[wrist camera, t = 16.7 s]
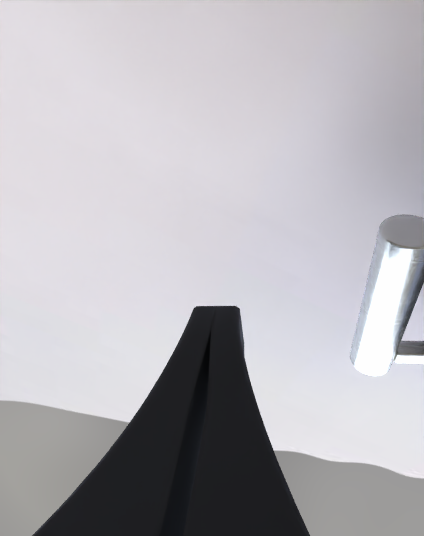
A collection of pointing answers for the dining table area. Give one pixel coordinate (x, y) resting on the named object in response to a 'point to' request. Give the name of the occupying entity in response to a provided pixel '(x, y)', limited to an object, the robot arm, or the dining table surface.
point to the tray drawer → (390, 297)
